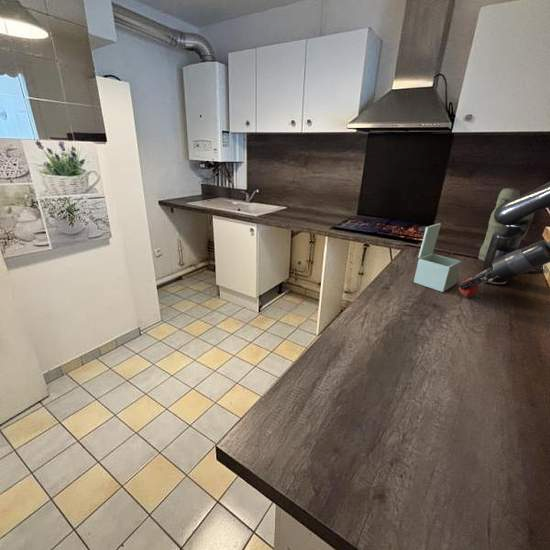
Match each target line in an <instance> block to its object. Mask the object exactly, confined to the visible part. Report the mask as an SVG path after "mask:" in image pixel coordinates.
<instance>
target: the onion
mask: <svg viewBox="0 0 550 550" xmlns="http://www.w3.org/2000/svg"><path fill="white" fill-rule="evenodd" d="M472 277H473V276H472ZM472 277H470V278H466V279H464V280H463V281H461V283H463V282H466V281H468V280H469V279H472ZM473 282H474V283H477V282H475V281H474V280H473ZM458 290H459V292H460V293H461V295H462V296H463V297H464V298H469V297H472V296H474V295H476V294H477V293H478V292H479V285H476V286H475V287H472V286H471V287H468V288H466V289H464V290H461V288H460V287H459V286H458Z"/></svg>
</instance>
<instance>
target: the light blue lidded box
mask: <svg viewBox="0 0 550 550" xmlns="http://www.w3.org/2000/svg"><path fill="white" fill-rule="evenodd" d="M461 266H462V260H460V259H456V258H452V257H448V256H444V255H440V254H437V253H434V252H433V253H431V254H428V255H426V256H424V257H421V258H418V261H417V266H416V270H415V275H414V279H413V283H415V284H417V285H421V286H424V287H426V288H429V289H432V290H435V291H438V292H441V293H444V292H445V291H447V290H448V289H450V288H453V286H455V285H456V283H457V278H458V275H459V271H460V268H461Z"/></svg>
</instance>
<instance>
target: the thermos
mask: <svg viewBox="0 0 550 550" xmlns="http://www.w3.org/2000/svg"><path fill="white" fill-rule="evenodd" d="M517 197H520V189H519V188H515V187H504V188H502V189H501V190H500V192H499V194H498V197H497V200H496V203H495V207H494V210H493V211H492V212H491V214H490V218H489V221H488V228H487V231H486V234H485V238H484V241H483V243H482V245H481V246H480V249H479V252H478V257H477V259H478V260H479V261H482V262H484V261H485V258H486V254H487V251H488V248H489V245H490V242H491V239H492V236H493V234H494V233H495V232H496V231H498V230H499V229H500V228H501V227H502V224H500V223H498V222H497V221H496V220H495V218H494V214H495V211H496V209H497V208H498V207H499V206H500V205H501V204H502V203H504V202H507V201H509V200H512V199H514V198H517Z"/></svg>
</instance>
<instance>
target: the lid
mask: <svg viewBox="0 0 550 550" xmlns="http://www.w3.org/2000/svg"><path fill="white" fill-rule="evenodd" d="M441 226H442V223H441V222H438V223H435V224H432V225H428V226H427V225H424V226H421V227H419V228H418V232H423V238H422V240H421V241H422V242H421V245H420V249H419V253H418V256H417V257H418V259H420V258H422V257H425V256H427V255H429V254H431V253H433V254H434V251H435V247H436V243H437V240H438V236H439V233H440V229H441Z"/></svg>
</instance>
